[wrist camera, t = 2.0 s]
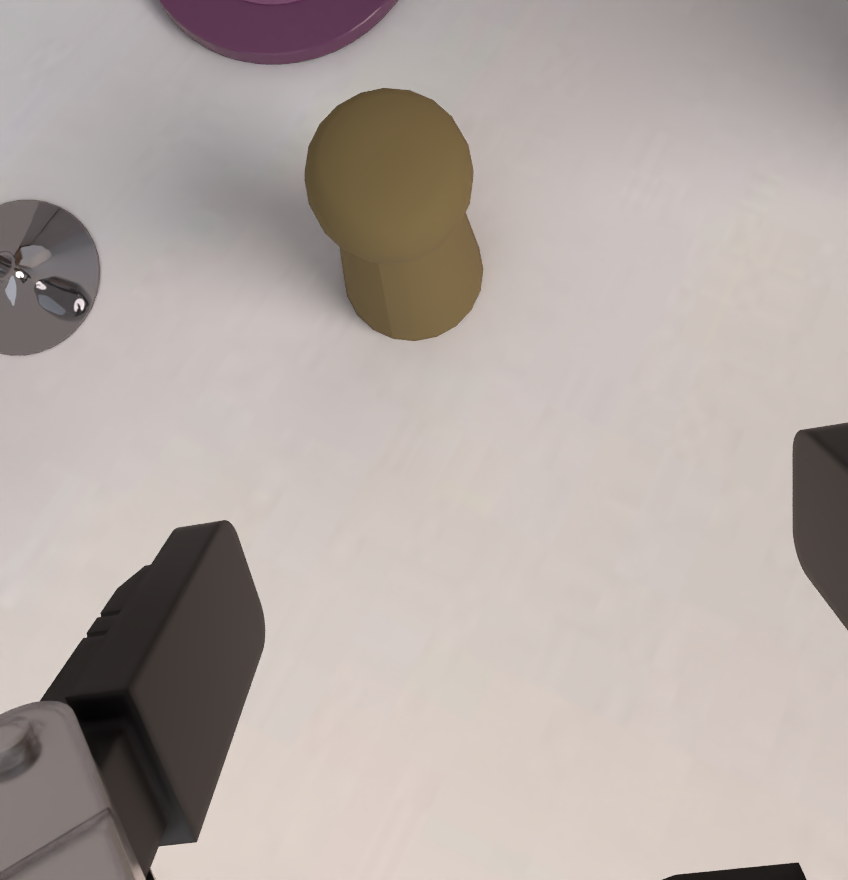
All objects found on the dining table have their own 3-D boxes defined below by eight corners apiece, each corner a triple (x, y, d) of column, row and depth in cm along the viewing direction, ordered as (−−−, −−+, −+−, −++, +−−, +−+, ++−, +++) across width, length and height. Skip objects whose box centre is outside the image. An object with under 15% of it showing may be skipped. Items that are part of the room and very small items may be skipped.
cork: (395, 179, 33) (357, 14, 22) (510, 252, 32) (529, 121, 22) (316, 291, 33) (238, 181, 22) (431, 367, 32) (409, 293, 21)
